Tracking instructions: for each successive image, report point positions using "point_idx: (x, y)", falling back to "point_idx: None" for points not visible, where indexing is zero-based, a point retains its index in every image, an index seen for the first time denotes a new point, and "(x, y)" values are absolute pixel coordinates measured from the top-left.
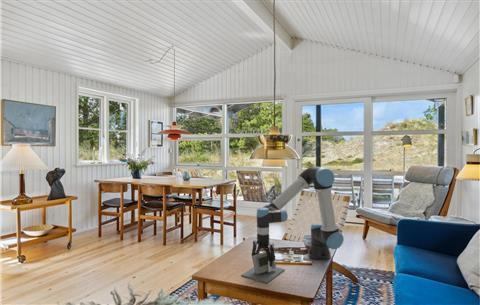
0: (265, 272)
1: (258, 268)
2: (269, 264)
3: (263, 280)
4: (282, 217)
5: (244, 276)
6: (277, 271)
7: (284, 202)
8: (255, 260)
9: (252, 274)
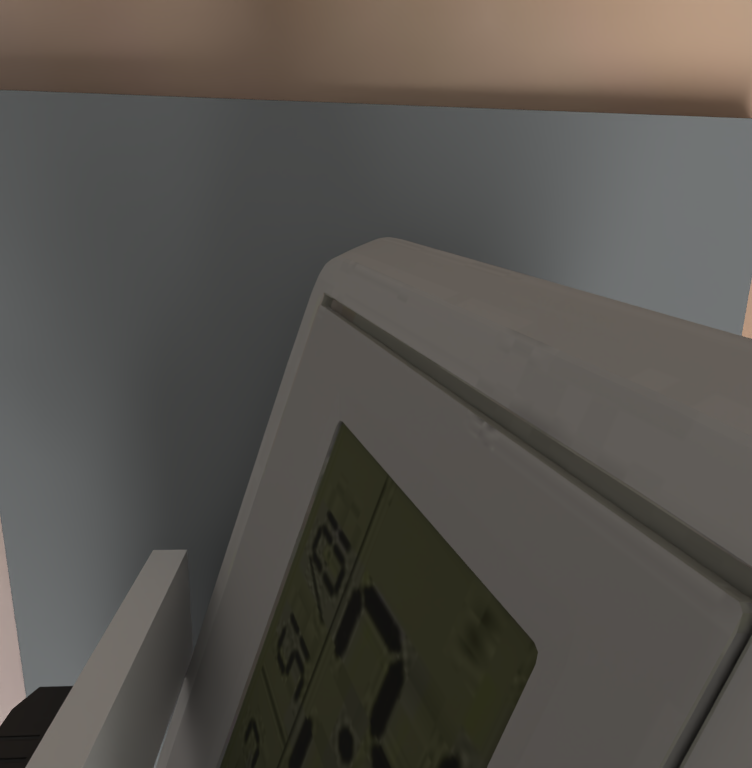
0: None
1: (350, 338)
2: (61, 729)
3: (85, 130)
4: None
5: (666, 118)
6: None
7: None
8: (594, 403)
9: None
